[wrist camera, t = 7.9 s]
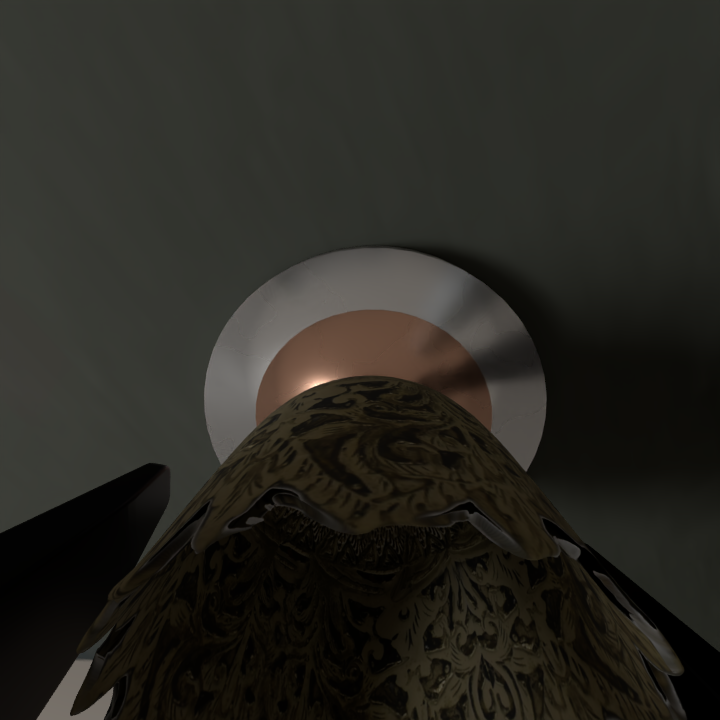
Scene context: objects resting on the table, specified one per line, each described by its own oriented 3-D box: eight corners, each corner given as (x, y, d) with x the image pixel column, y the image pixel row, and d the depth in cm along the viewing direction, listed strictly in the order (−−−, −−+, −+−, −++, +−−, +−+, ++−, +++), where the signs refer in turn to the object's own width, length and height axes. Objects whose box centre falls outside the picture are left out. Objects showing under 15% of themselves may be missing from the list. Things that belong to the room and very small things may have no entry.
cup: (212, 430, 12) (-39, 763, 5) (359, 256, 10) (317, 371, 3) (380, 546, 14) (387, 931, 6) (538, 418, 12) (827, 775, 4)
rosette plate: (584, 285, 11) (609, 293, 10) (474, 547, 15) (483, 575, 14) (230, 210, 11) (212, 209, 10) (210, 498, 15) (196, 523, 14)
